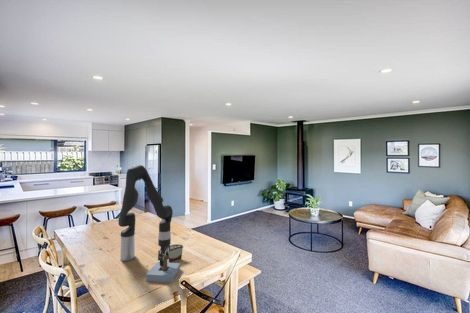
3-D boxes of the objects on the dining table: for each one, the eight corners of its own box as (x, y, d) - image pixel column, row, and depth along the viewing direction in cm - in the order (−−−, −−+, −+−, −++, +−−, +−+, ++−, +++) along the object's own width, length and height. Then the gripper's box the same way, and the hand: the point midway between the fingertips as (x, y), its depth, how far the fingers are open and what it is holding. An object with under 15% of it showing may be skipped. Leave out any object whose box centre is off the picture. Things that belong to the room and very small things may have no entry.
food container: (179, 255, 176) (179, 242, 175) (183, 258, 171) (183, 245, 171) (163, 260, 167) (163, 246, 167) (167, 263, 163) (167, 249, 163)
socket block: (156, 267, 157) (157, 261, 157) (180, 269, 156) (180, 263, 156) (146, 280, 141) (146, 274, 141) (171, 282, 140) (171, 275, 140)
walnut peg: (162, 272, 151) (162, 254, 150) (168, 273, 150) (168, 254, 150) (159, 276, 147) (159, 257, 146) (165, 276, 146) (165, 257, 146)
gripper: (163, 233, 155) (162, 257, 156) (154, 241, 141) (153, 267, 141) (174, 233, 155) (173, 257, 155) (166, 242, 141) (165, 268, 141)
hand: (164, 262), depth 148 cm, fingers open, 8 cm apart
